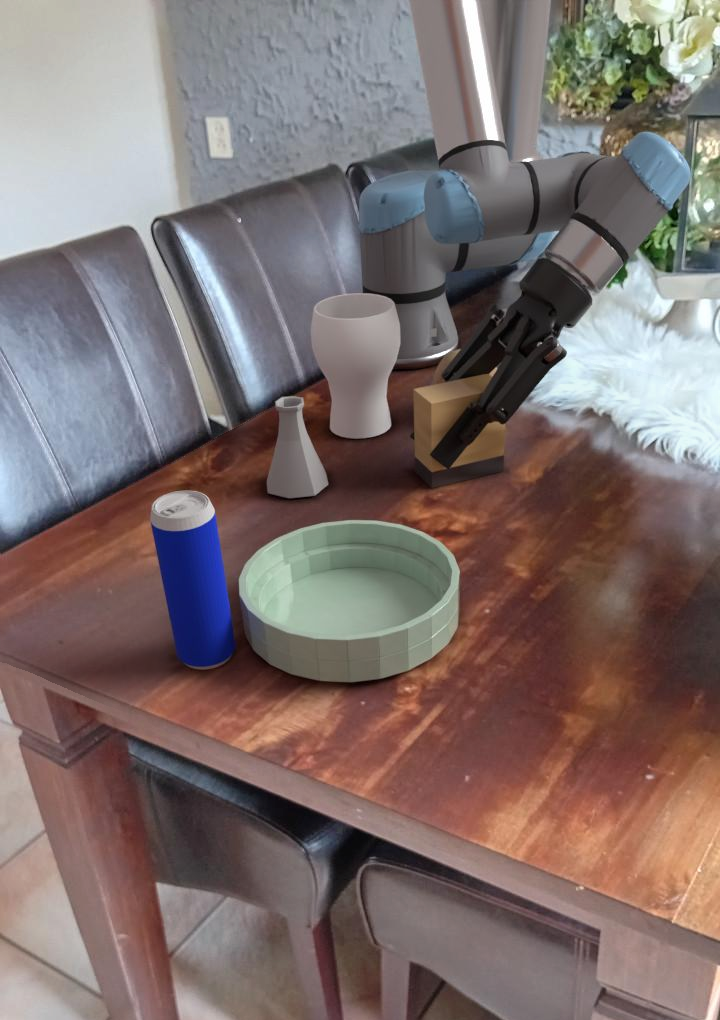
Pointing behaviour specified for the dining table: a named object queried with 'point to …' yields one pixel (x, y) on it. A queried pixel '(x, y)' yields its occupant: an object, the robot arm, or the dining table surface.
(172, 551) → the beverage can
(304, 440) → the flask
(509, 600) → the dining table surface
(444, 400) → the eraser
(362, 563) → the bowl
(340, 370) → the cup
